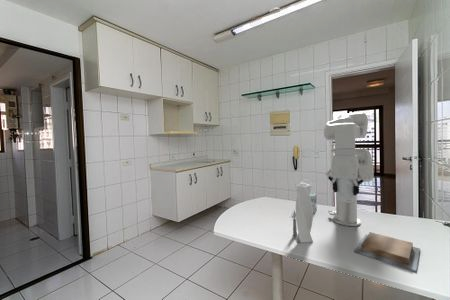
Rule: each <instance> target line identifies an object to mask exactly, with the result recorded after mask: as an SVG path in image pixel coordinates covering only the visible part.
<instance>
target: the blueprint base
mask: <svg viewBox="0 0 450 300" xmlns="http://www.w3.org/2000/svg"><path fill="white" fill-rule="evenodd" d="M420 251H421V248H419V247H416V246H413V242H410V241H406V240H403V239H398V238H395V237H391V236H387V235H382V234H381V233H380V234H379V233H375V232H371V231H370V232H369V233H368V234H365V235H364V236H363V237H362V238H361V240H360V242H359V243H358V245H357V246H356V247H355V249H354V251H353V252H354V253H357V254H359V255H363V256H365V257H368V258H371V259H374V260H377V261H380V262H384V263H386V264H389V265H393V266H395V267H398V268H402V269H405V270H408V271H411V272H414V273H417V270H418V263H419V257H420Z"/></svg>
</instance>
